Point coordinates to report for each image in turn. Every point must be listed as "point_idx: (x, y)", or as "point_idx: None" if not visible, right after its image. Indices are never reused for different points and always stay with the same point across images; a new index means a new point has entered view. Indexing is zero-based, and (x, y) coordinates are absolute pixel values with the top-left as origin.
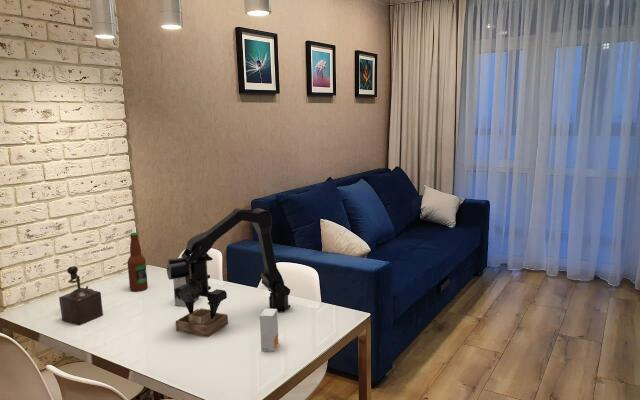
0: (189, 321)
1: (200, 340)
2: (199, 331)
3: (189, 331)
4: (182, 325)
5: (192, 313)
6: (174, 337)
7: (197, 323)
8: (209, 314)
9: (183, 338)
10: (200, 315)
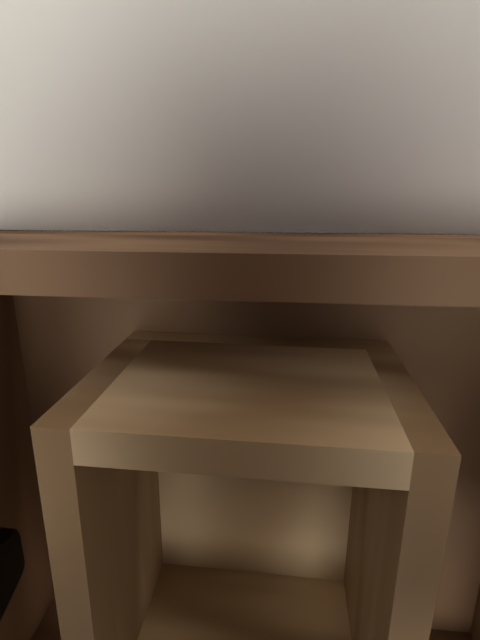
0: (397, 383)
1: (10, 109)
2: (96, 236)
3: (301, 237)
4: (468, 248)
5: (422, 567)
6: (449, 14)
7: (205, 369)
8: (68, 618)
9: (281, 52)
10: (354, 619)
